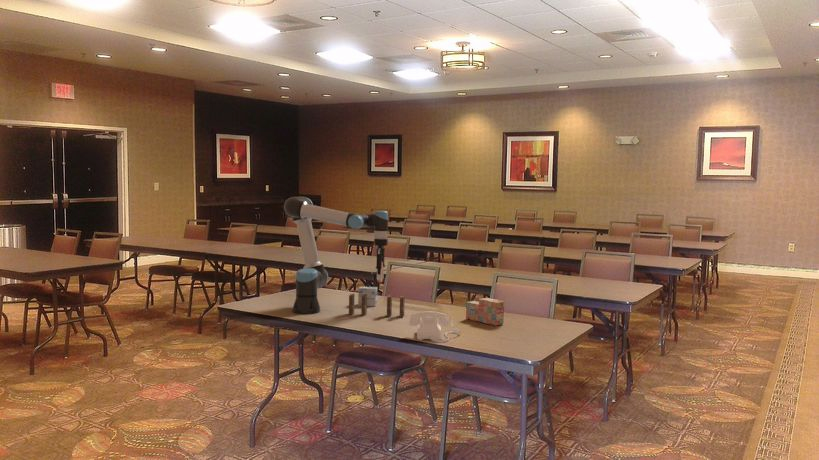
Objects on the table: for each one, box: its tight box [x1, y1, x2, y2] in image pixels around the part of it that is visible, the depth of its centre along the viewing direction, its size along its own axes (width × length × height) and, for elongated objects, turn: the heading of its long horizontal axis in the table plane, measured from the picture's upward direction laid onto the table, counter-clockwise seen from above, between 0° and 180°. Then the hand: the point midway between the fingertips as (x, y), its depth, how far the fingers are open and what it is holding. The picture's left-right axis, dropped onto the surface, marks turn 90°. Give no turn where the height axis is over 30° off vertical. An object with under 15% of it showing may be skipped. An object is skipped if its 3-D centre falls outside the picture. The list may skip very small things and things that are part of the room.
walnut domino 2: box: [360, 294, 368, 317], centre depth 352 cm, size 2×6×11 cm, turn 174°
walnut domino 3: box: [386, 294, 393, 318], centre depth 350 cm, size 2×6×11 cm, turn 174°
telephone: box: [408, 310, 462, 343], centre depth 304 cm, size 25×21×12 cm
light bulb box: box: [357, 286, 378, 307], centre depth 380 cm, size 11×7×11 cm, turn 84°
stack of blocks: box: [465, 297, 505, 326], centre depth 341 cm, size 21×6×12 cm, turn 42°
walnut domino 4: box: [399, 295, 406, 318], centre depth 349 cm, size 2×6×11 cm, turn 173°
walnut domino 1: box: [348, 293, 355, 316], centre depth 353 cm, size 2×6×11 cm, turn 174°
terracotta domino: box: [377, 262, 384, 284], centre depth 361 cm, size 2×6×11 cm, turn 174°
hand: (380, 279), depth 361 cm, fingers closed on terracotta domino, 6 cm apart
